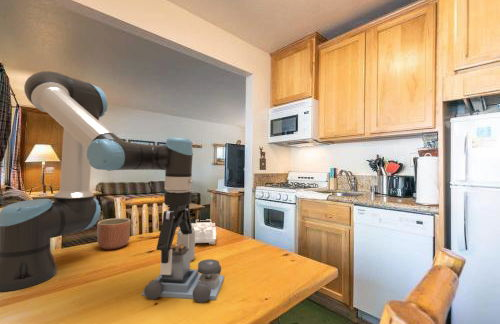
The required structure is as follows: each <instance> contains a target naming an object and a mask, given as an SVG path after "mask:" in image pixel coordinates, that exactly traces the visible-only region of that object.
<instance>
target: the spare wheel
mask: <svg viewBox="0 0 500 324" xmlns="http://www.w3.org/2000/svg"><path fill="white" fill-rule="evenodd" d="M219 264H220V262H219V260H217V259H212V258H211V259H210V258H207V259H203V260H200V261H199V262H198V264H197V270H198V274H207V277H210V274H214V273H216V272H218V271H219Z"/></svg>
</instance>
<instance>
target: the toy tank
mask: <svg viewBox="0 0 500 324" xmlns="http://www.w3.org/2000/svg"><path fill="white" fill-rule="evenodd" d="M208 221H209V222H208ZM191 225H192V227H194V230H195V245H196V244H202V243H203V244H204V243H205V244H207V243H208V244H209V245H210V244H213V245H216V240H217V228H216V222H212V219H207V222H204V221H203V222H198V219H195V223H193V222H191Z"/></svg>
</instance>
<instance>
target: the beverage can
mask: <svg viewBox="0 0 500 324" xmlns="http://www.w3.org/2000/svg"><path fill="white" fill-rule="evenodd" d="M177 228H178V230H176V233H177V234H176V235H177V237H176V246H179V245H180V234H183V233H182V232H181V230H180V227H179V226H178V227H177ZM195 246H196V244H195V230H194V227H192V234H189V248H190V262H193V260H194V259H195V258H196V257H195V255H196V254H195V253H196V252H195V249H196V247H195Z"/></svg>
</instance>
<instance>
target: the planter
mask: <svg viewBox="0 0 500 324" xmlns="http://www.w3.org/2000/svg"><path fill="white" fill-rule="evenodd" d="M131 222H132V220H131V219H130V218H125V217H118V218H117V217H115V218H108V219H107V218H106V219H103V220H99V221H97V223H96V224H97V225H96V226H97V227H96V229H97V230H96V231H97V233H96V234H97V238H96V240H97V244H98V246H99V247H100V248H102V249H103V250H106V251H107V250H118V249H120V248H123V247H124V246H126V245H127V244H128V242H129V241H130V237H131V226H132V225H131Z"/></svg>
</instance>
